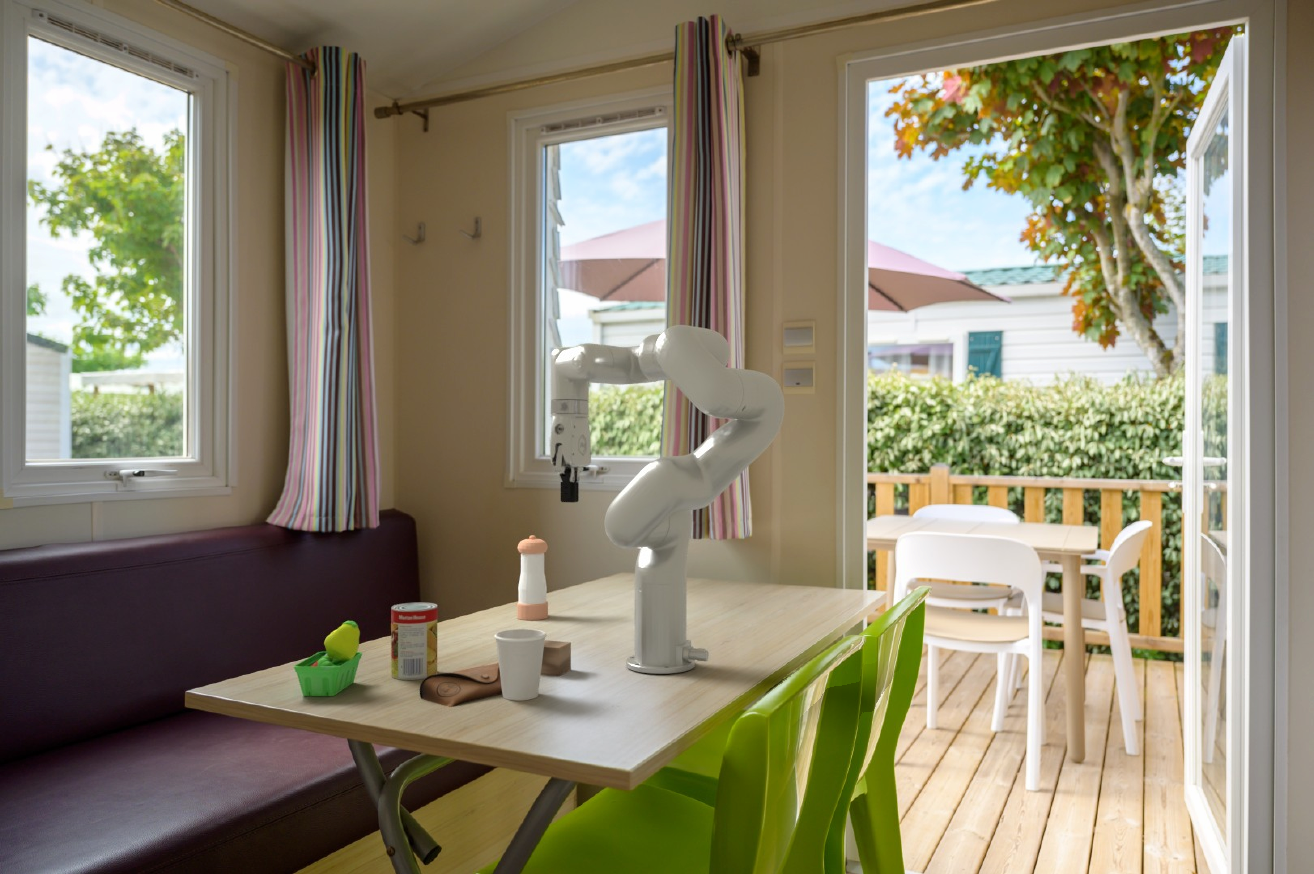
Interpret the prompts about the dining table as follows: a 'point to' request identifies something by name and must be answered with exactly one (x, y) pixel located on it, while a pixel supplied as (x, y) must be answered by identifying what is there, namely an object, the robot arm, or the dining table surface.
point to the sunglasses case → (462, 685)
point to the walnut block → (556, 658)
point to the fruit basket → (331, 663)
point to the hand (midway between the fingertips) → (569, 501)
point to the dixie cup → (520, 662)
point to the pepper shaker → (532, 580)
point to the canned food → (413, 640)
